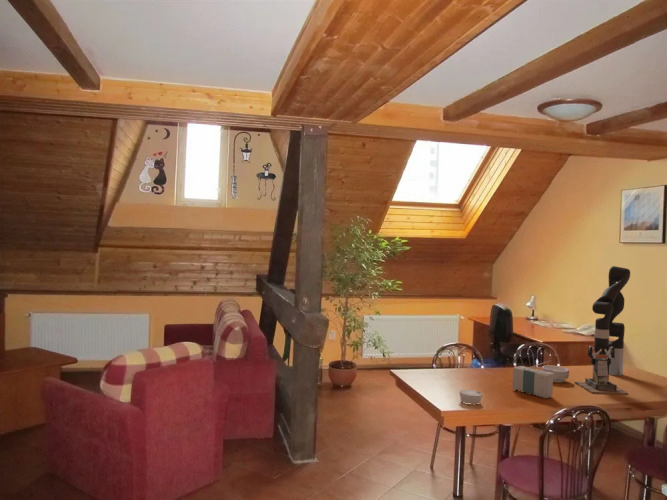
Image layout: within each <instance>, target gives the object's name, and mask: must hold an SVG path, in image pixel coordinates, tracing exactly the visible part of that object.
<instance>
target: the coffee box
mask: <svg viewBox="0 0 667 500" xmlns="http://www.w3.org/2000/svg"><path fill="white" fill-rule="evenodd" d="M592 379H593V382H595V383H596V384H606V385H609V382H610V374H609V360H607V358H605V357H595V365H592Z"/></svg>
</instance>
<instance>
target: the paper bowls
mask: <svg viewBox="0 0 667 500" xmlns="http://www.w3.org/2000/svg"><path fill="white" fill-rule="evenodd" d="M541 370H542V371H546V372H550V373H553V374H554V376H553V383H554V382H559V383H558V384H561V382H562V383H564V382H565V381H566V380H567V379H569V377H570V369H569V368H566V367H564V366H563V367H562V366H557V365H542V366H541Z"/></svg>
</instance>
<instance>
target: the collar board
mask: <svg viewBox="0 0 667 500" xmlns="http://www.w3.org/2000/svg"><path fill="white" fill-rule="evenodd" d="M574 384H575V385H577V386H578V385H579V386H578V387H580V386H581V387H580V388H582V389H583V388H584V389H583V390H585V391H587V392H589V393H591V394H593V395H594V394H596V395H597V394H598V395H626V396H627V395H629V392H628V391H626V390H624V389H622V388H620V387H618V386H617V384H615V383H612V381H609V385H606V384H596V383H595V382H593V378H586V377H585V381H574Z"/></svg>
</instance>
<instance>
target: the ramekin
mask: <svg viewBox="0 0 667 500" xmlns="http://www.w3.org/2000/svg"><path fill="white" fill-rule="evenodd" d="M459 397H460V401H462V402H465V403H471V404H477V403H480V404H481V402H482V397H483V393H482V392H481V391H478V390H474V389H462V390H460V391H459ZM462 402H461V403H462Z"/></svg>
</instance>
